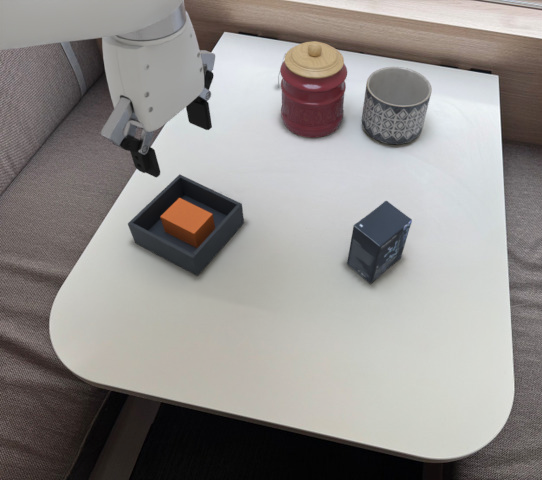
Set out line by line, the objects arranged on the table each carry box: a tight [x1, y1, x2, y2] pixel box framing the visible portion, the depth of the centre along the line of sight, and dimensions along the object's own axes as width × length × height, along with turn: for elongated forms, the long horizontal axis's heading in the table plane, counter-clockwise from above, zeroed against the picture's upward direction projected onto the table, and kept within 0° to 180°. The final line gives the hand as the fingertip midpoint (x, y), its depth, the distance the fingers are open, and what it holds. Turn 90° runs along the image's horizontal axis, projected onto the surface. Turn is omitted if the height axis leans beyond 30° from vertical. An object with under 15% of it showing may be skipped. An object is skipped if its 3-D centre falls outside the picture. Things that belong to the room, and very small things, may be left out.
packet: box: [160, 198, 215, 248], centre depth 88 cm, size 5×7×4 cm
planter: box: [361, 66, 433, 145], centre depth 105 cm, size 13×13×10 cm
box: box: [346, 200, 413, 284], centre depth 84 cm, size 8×6×11 cm
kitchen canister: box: [279, 40, 348, 139], centre depth 103 cm, size 13×13×18 cm
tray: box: [127, 173, 245, 277], centre depth 88 cm, size 13×13×5 cm
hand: (175, 147), depth 63 cm, fingers open, 9 cm apart
